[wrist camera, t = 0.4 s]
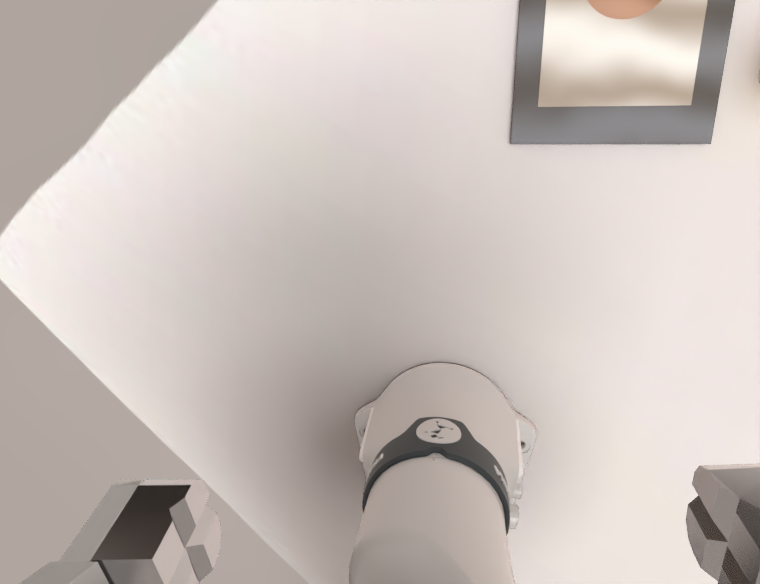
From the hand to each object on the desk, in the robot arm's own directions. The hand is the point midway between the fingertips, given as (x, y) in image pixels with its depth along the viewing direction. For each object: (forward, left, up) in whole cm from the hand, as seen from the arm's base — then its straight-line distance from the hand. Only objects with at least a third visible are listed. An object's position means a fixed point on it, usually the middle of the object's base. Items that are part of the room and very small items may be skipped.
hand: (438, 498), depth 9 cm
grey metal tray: (+16, -12, -42) cm, 46 cm away
